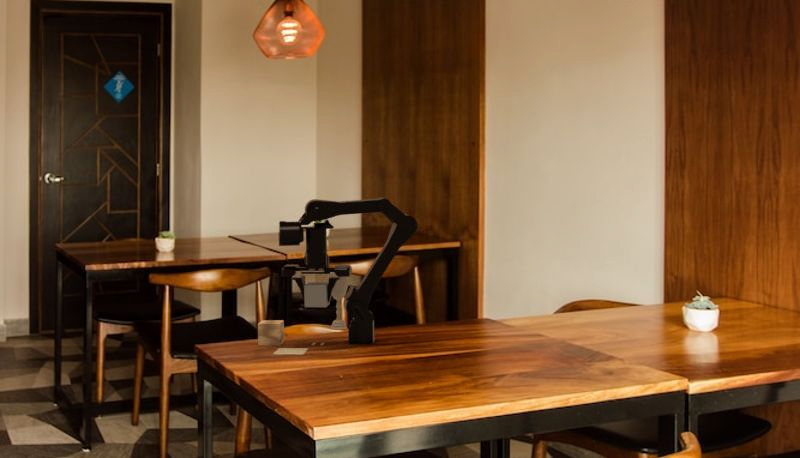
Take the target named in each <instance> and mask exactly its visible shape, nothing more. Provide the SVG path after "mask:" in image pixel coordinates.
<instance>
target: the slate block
mask: <svg viewBox="0 0 800 458" xmlns="http://www.w3.org/2000/svg"><path fill="white" fill-rule="evenodd" d="M327 296H328V281H327V282H320V281H319V282H318V281H317V282H311V281H310V282H307V283H305V285H304V297H305V301H304V308H327V307H328V306H329V305H331V301H330V302H328V298H327Z"/></svg>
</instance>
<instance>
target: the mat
mask: <svg viewBox="0 0 800 458" xmlns="http://www.w3.org/2000/svg"><path fill="white" fill-rule="evenodd" d="M308 350H309V347H308V348H305V347H304V348H303V347H299V348H298V347H297V348H295V347H278V348H277V349H276V351H275V350H274V352H273V353H272V355H275V356H276V355H282V356H283V355H285V356H286V355H288V356H289V355H291V356H294V355H295V356H296V355H297V356H301V355H305V353H306V352H308Z"/></svg>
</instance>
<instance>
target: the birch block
mask: <svg viewBox="0 0 800 458" xmlns="http://www.w3.org/2000/svg"><path fill="white" fill-rule="evenodd" d="M257 338H258V339H257V342H258V343H257V344H258V346H259V347H261V346H263V347H264V346H265V347H266V346H267V347H268V346H269V347H271V346H272V347H273V346H274V347H276V346H279V347H280V346H281V345H282V344H283V343H285V320H283V319H281V320H280V319H279V320H277V319H276V320H275V319H274V320H273V319H268V320H267V319H266V320H265V319H262V320H261V321H260V322H258V323H257Z"/></svg>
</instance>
